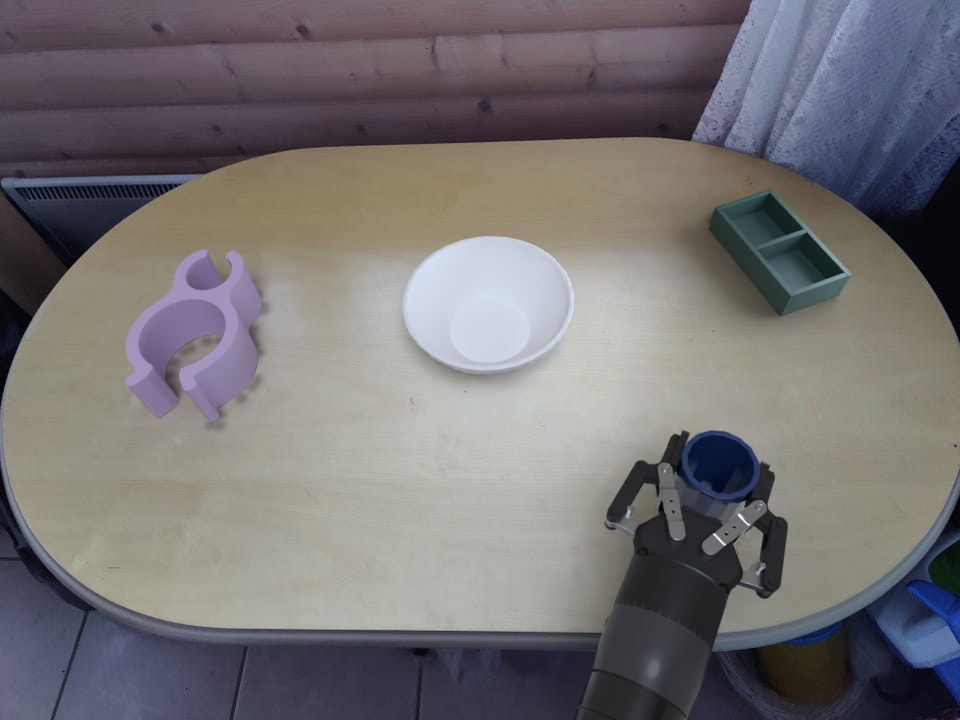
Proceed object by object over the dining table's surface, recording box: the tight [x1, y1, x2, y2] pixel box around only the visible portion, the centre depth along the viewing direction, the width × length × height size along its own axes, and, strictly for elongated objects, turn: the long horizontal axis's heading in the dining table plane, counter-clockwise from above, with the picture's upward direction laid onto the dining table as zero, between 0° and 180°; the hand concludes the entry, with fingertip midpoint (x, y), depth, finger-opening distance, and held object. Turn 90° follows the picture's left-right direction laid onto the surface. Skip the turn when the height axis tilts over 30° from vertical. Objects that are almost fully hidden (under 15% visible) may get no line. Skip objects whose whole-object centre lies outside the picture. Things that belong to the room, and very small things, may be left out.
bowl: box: [401, 235, 575, 376], centre depth 80 cm, size 20×20×7 cm
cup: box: [674, 429, 760, 525], centre depth 60 cm, size 6×6×10 cm
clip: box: [124, 248, 263, 423], centre depth 81 cm, size 20×12×7 cm, turn 174°
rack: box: [708, 188, 853, 317], centre depth 85 cm, size 8×16×4 cm, turn 21°
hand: (722, 450), depth 58 cm, fingers closed on cup, 6 cm apart
